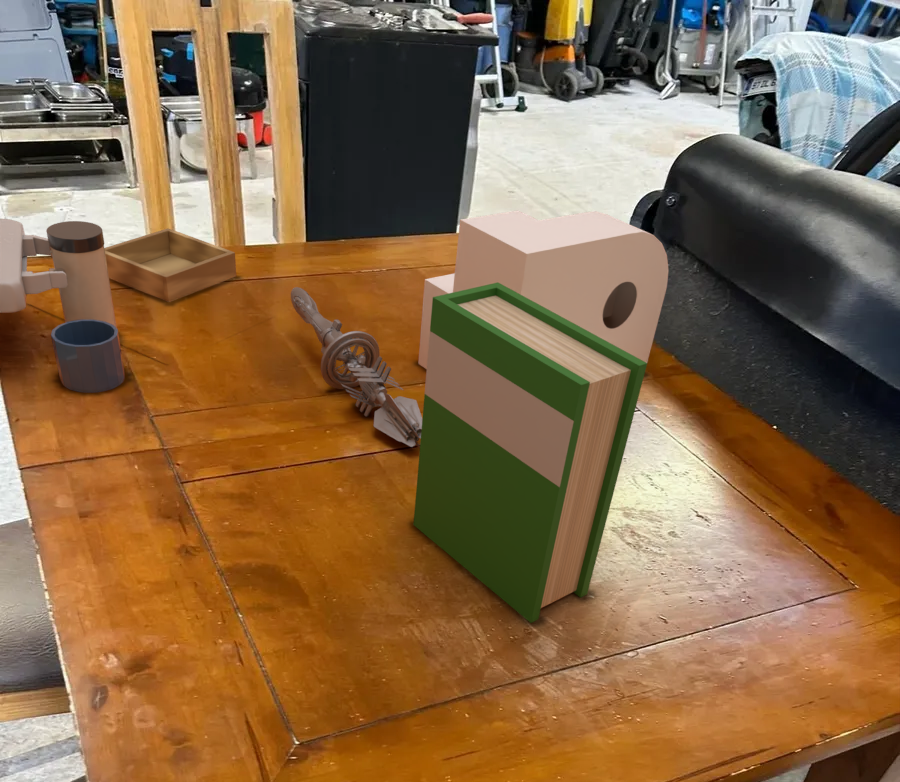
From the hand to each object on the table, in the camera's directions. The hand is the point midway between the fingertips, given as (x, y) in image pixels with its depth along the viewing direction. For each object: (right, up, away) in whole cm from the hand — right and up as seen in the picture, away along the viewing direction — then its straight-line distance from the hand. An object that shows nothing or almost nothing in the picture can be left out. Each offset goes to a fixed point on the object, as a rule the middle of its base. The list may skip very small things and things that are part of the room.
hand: (66, 262), depth 107 cm
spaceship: (+34, -15, +4) cm, 37 cm away
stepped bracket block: (+58, -10, +12) cm, 60 cm away
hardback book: (+51, -37, -20) cm, 66 cm away
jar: (+1, -8, +7) cm, 10 cm away
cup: (+4, -14, -1) cm, 15 cm away
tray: (+5, +7, +24) cm, 25 cm away
